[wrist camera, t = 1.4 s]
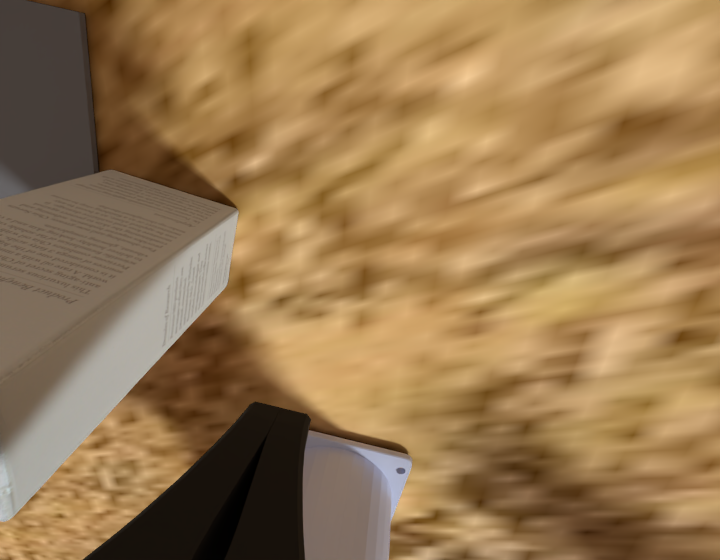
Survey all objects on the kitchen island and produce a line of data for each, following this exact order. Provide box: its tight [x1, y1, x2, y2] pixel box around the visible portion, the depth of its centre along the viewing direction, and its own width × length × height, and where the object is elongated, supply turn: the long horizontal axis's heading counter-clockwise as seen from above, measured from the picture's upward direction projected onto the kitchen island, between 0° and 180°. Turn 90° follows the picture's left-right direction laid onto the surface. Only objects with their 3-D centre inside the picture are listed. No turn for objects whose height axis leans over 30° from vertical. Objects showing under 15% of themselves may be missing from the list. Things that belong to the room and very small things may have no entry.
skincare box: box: [0, 170, 239, 522], centre depth 13 cm, size 6×4×12 cm
